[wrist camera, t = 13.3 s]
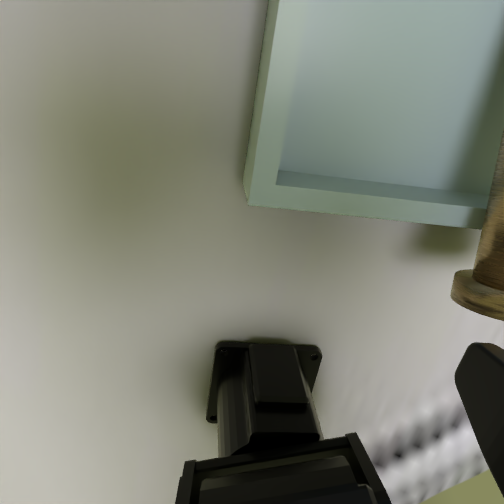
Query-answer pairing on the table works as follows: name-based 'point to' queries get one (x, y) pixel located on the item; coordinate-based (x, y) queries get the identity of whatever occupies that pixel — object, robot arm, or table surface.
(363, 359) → the table surface
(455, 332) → the table surface
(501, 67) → the tray
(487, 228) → the pin
